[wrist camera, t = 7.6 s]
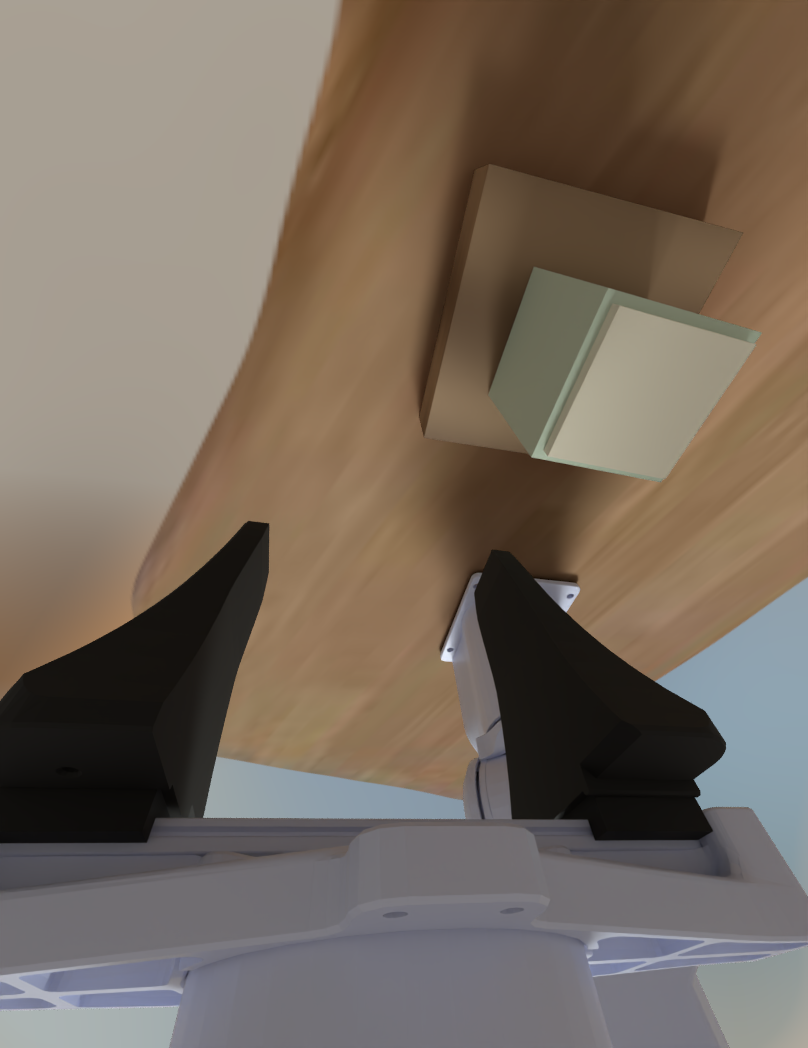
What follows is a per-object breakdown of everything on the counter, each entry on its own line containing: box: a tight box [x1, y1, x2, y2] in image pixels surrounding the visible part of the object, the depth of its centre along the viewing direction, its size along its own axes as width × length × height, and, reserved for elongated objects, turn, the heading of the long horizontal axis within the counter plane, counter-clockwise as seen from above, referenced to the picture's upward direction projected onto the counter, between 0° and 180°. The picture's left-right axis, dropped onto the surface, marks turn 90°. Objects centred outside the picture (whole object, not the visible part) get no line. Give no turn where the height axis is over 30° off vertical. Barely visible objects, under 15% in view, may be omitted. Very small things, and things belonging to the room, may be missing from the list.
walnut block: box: [419, 164, 743, 454], centre depth 19 cm, size 10×10×3 cm
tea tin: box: [488, 267, 761, 482], centre depth 15 cm, size 5×5×6 cm
